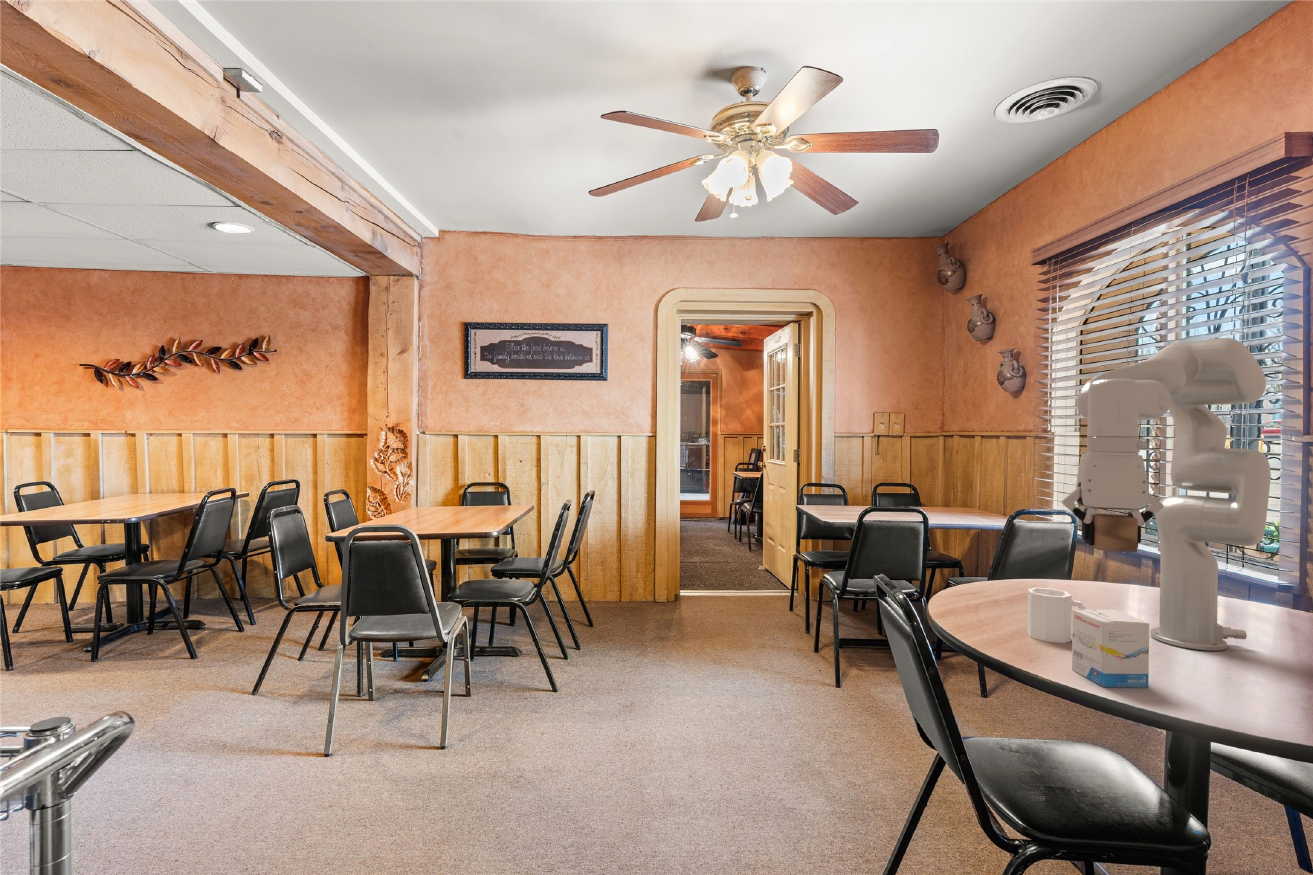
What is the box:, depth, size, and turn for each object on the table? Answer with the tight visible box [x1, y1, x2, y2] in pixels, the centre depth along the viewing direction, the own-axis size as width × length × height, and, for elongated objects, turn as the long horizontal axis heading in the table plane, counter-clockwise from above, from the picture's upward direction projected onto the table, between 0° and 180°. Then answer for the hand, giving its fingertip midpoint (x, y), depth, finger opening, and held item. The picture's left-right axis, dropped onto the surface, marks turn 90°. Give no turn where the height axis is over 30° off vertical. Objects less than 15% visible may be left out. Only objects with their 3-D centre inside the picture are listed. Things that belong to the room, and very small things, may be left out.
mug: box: [1026, 587, 1088, 644], centre depth 137 cm, size 12×9×10 cm
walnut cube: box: [1085, 512, 1138, 553], centre depth 114 cm, size 6×6×6 cm
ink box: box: [1071, 608, 1150, 689], centre depth 114 cm, size 9×8×12 cm
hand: (1110, 544), depth 114 cm, fingers closed on walnut cube, 6 cm apart
